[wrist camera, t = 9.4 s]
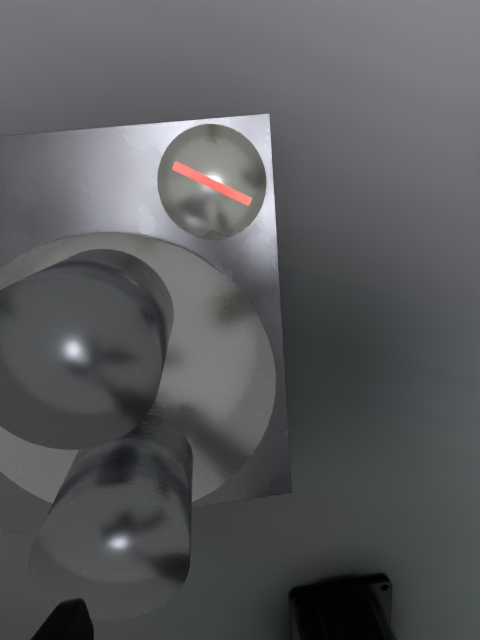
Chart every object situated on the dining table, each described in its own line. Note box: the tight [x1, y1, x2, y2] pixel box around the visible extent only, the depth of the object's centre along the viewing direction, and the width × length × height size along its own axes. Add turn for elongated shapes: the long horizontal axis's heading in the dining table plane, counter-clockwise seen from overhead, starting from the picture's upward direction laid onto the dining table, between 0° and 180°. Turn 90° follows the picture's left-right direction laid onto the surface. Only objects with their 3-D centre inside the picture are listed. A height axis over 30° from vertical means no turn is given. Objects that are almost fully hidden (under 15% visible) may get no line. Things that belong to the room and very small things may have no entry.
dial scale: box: [0, 114, 292, 535], centre depth 17 cm, size 17×14×3 cm
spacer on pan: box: [29, 414, 193, 621], centre depth 15 cm, size 5×5×5 cm
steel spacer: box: [0, 249, 174, 450], centre depth 12 cm, size 5×5×5 cm
